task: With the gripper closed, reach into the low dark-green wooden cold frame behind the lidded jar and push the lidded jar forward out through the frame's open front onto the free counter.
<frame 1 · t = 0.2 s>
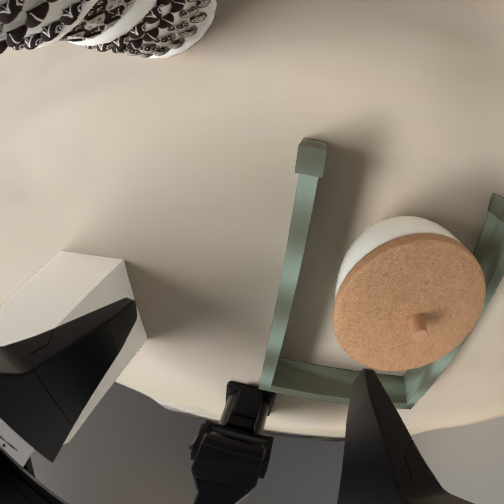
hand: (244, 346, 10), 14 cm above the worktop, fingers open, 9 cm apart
milk: (102, 294, 33), on the worktop
decorative candle: (169, 15, 16), on the worktop
cold frame: (379, 295, 24), on the worktop
lidded jar: (393, 256, 22), on the worktop
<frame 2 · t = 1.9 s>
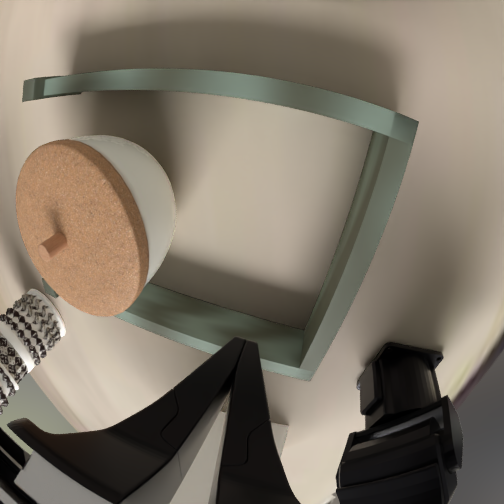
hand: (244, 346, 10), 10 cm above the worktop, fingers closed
milk: (240, 432, 34), on the worktop
decorative candle: (47, 312, 32), on the worktop
cold frame: (182, 205, 19), on the worktop
lidded jar: (137, 193, 20), on the worktop
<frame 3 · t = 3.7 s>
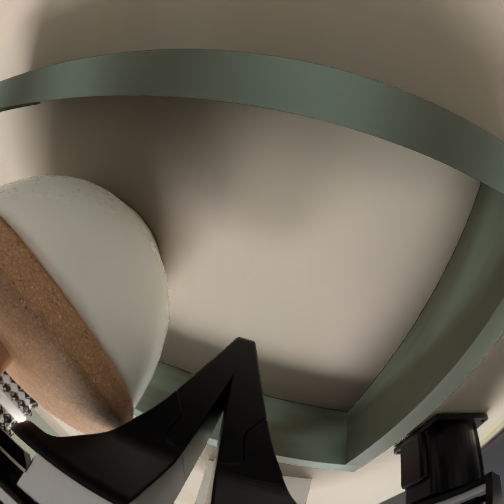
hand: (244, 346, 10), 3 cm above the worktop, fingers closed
milk: (256, 481, 28), on the worktop
decorative candle: (35, 356, 26), on the worktop
cold frame: (191, 276, 13), on the worktop
lidded jar: (114, 249, 14), on the worktop, touching gripper
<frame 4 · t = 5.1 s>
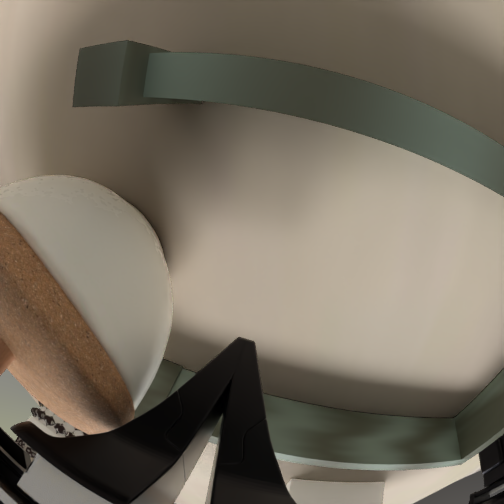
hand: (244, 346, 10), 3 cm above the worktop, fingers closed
milk: (327, 490, 27), on the worktop
decorative candle: (92, 392, 25), on the worktop
cold frame: (393, 327, 12), on the worktop
lidded jar: (118, 249, 14), on the worktop, touching gripper
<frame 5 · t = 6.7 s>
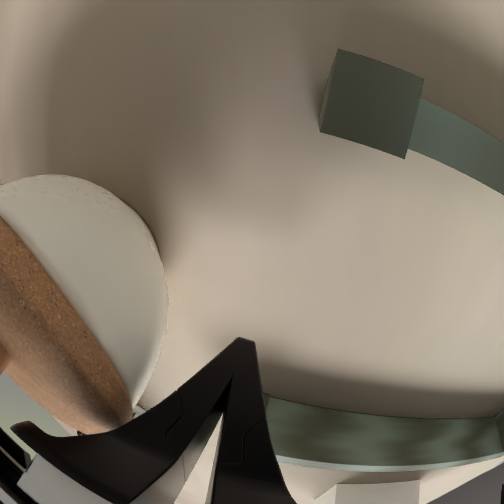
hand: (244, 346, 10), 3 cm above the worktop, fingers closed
milk: (364, 492, 26), on the worktop
cold frame: (475, 345, 11), on the worktop
lidded jar: (113, 248, 14), on the worktop, touching gripper
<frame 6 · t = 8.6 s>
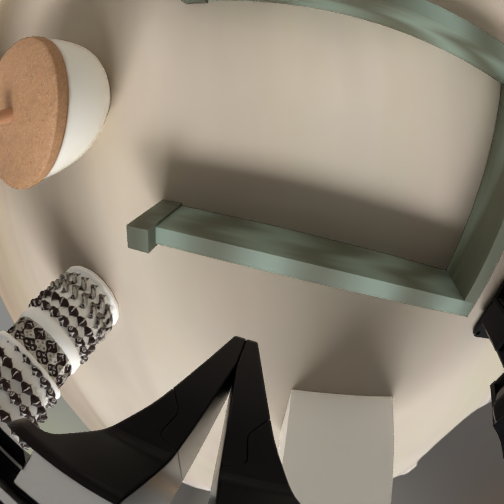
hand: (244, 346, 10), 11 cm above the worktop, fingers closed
milk: (332, 416, 30), on the worktop
decorative candle: (91, 295, 29), on the worktop
cold frame: (348, 127, 16), on the worktop
lidded jar: (86, 101, 18), on the worktop
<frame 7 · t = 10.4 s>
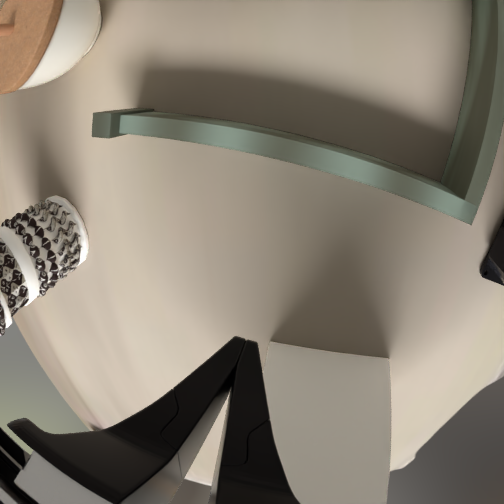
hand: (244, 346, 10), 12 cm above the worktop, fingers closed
milk: (318, 384, 28), on the worktop
decorative candle: (64, 230, 26), on the worktop
cold frame: (315, 26, 13), on the worktop
lidded jar: (79, 33, 16), on the worktop
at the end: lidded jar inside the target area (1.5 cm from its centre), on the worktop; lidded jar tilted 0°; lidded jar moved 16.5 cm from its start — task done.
